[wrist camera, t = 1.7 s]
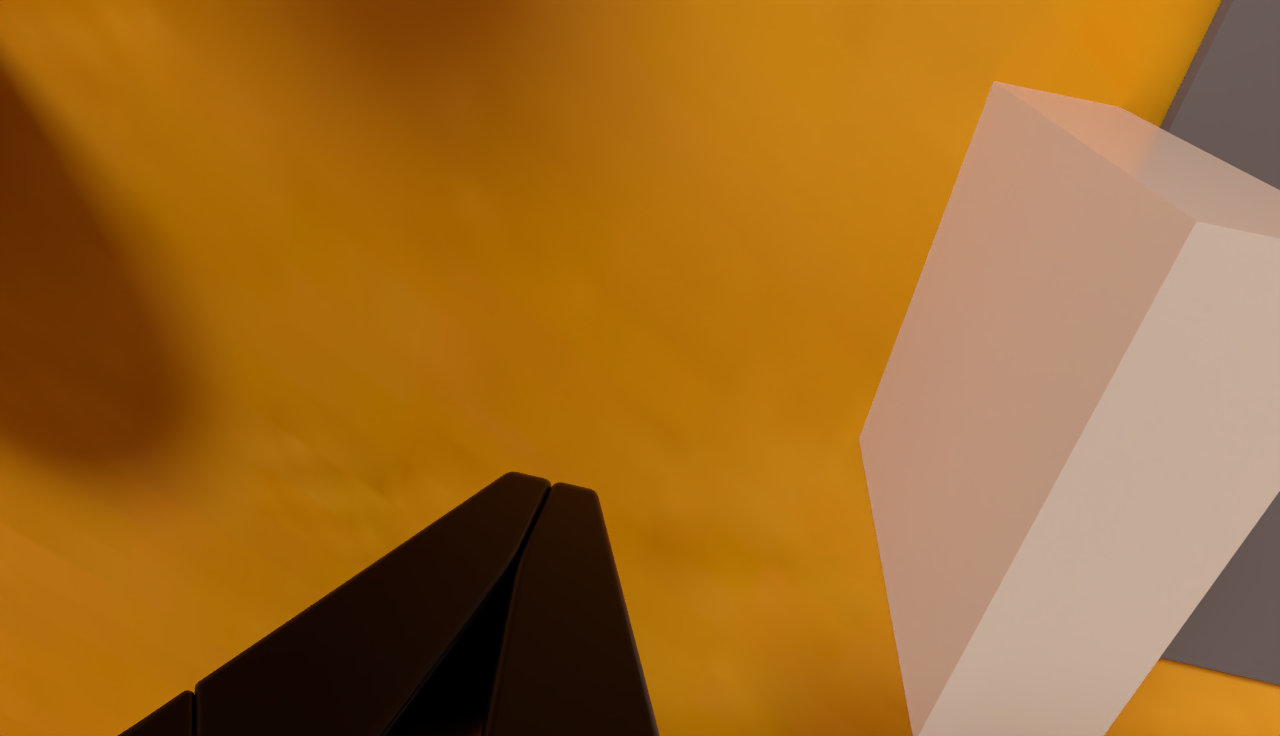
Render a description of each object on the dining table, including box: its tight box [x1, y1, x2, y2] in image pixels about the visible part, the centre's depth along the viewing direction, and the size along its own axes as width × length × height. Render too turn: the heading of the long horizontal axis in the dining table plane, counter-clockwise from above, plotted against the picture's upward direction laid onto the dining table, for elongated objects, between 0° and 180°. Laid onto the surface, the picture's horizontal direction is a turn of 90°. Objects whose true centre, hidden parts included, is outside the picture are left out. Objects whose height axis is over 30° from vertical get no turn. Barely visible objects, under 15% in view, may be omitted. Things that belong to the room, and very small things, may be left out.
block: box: [859, 81, 1280, 736], centre depth 12 cm, size 7×2×7 cm, turn 170°
